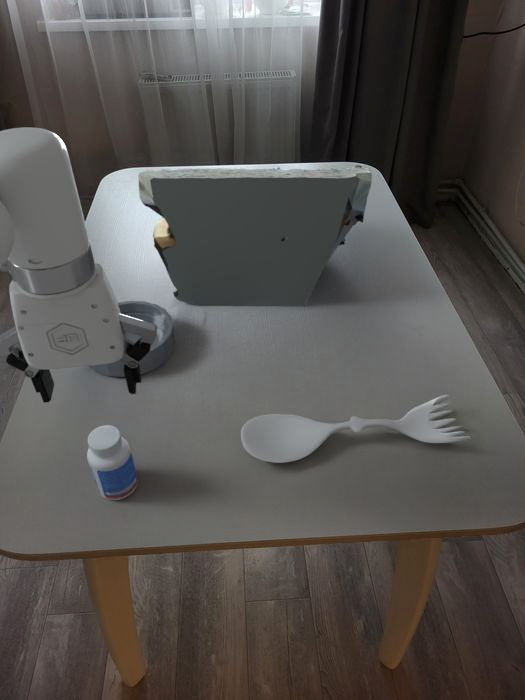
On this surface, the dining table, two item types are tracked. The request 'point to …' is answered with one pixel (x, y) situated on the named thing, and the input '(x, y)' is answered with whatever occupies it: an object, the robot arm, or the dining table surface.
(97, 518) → the dining table surface
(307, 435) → the spoon
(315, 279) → the basket
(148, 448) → the dining table surface
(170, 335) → the pan
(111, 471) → the pill bottle
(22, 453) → the dining table surface
